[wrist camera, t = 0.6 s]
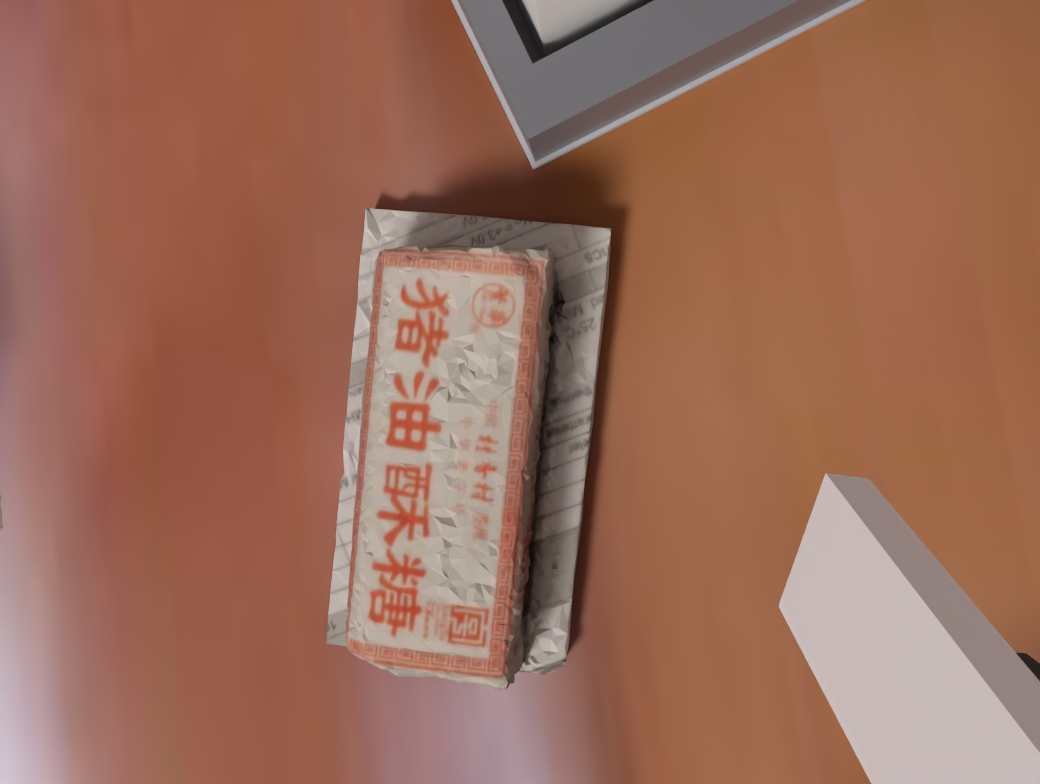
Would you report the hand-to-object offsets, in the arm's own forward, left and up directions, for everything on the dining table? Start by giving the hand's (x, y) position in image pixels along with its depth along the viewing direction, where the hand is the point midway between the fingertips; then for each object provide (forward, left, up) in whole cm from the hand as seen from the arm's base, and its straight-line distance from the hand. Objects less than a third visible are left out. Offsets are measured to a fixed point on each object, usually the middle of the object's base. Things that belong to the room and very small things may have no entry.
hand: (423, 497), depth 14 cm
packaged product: (0, +3, -22) cm, 23 cm away
